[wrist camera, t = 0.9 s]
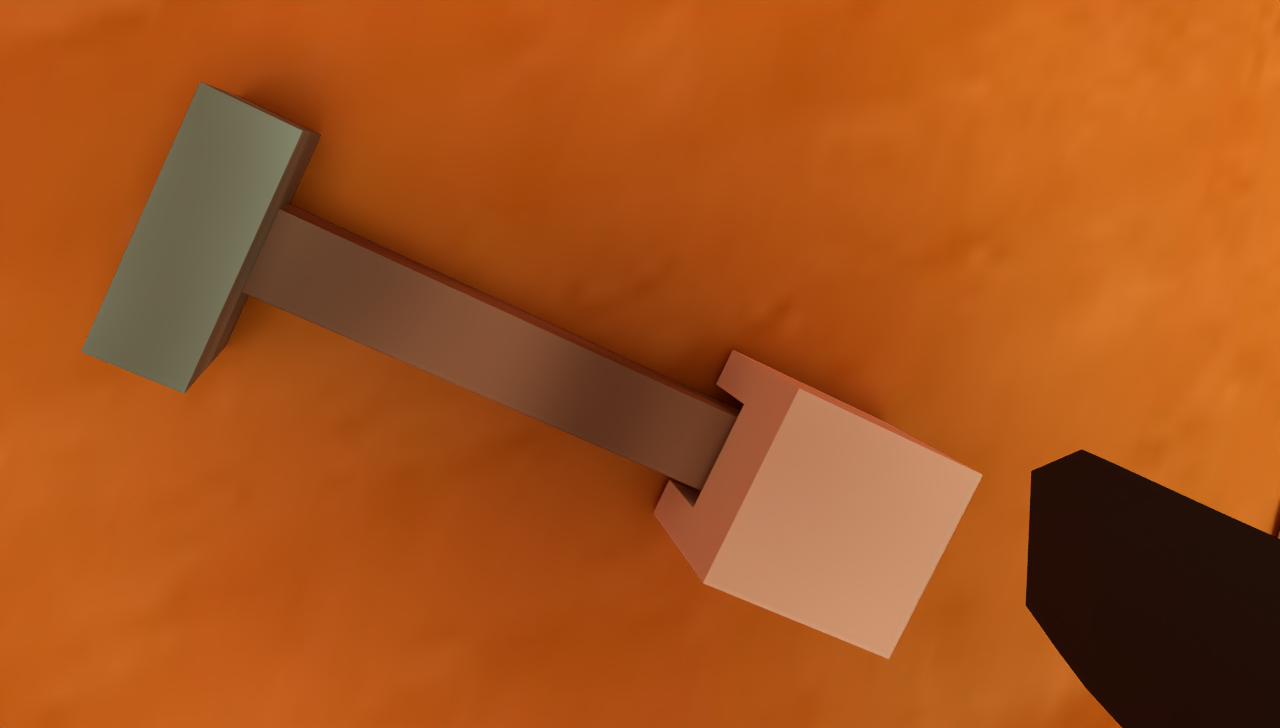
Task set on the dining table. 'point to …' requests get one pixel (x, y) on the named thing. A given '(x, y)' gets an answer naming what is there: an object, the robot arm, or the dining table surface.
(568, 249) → the dining table surface
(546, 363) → the rail
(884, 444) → the keeper
